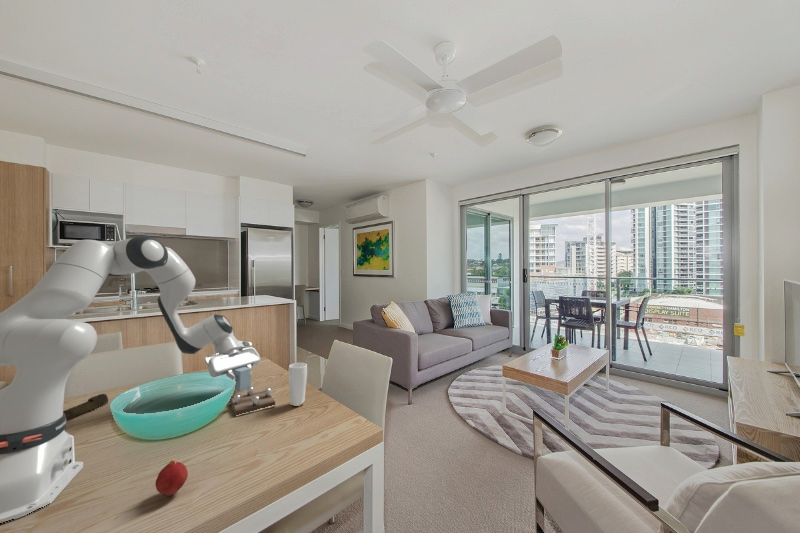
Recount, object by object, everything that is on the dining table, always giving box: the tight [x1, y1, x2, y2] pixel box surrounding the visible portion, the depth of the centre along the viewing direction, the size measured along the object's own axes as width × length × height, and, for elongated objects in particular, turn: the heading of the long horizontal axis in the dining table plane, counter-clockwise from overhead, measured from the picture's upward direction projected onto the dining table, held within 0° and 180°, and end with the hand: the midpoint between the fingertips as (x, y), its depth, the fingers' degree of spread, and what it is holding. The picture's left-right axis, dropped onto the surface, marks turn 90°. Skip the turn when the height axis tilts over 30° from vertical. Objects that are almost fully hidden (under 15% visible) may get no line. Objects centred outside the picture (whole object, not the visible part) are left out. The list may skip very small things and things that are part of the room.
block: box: [233, 367, 252, 393], centre depth 121 cm, size 4×4×8 cm
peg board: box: [230, 386, 276, 416], centre depth 114 cm, size 13×13×5 cm
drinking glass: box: [288, 362, 308, 405], centre depth 115 cm, size 7×7×15 cm
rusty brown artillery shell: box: [63, 393, 109, 421], centre depth 105 cm, size 19×4×5 cm, turn 172°
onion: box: [154, 458, 189, 497], centre depth 68 cm, size 6×6×8 cm
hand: (243, 378), depth 121 cm, fingers closed on block, 4 cm apart
